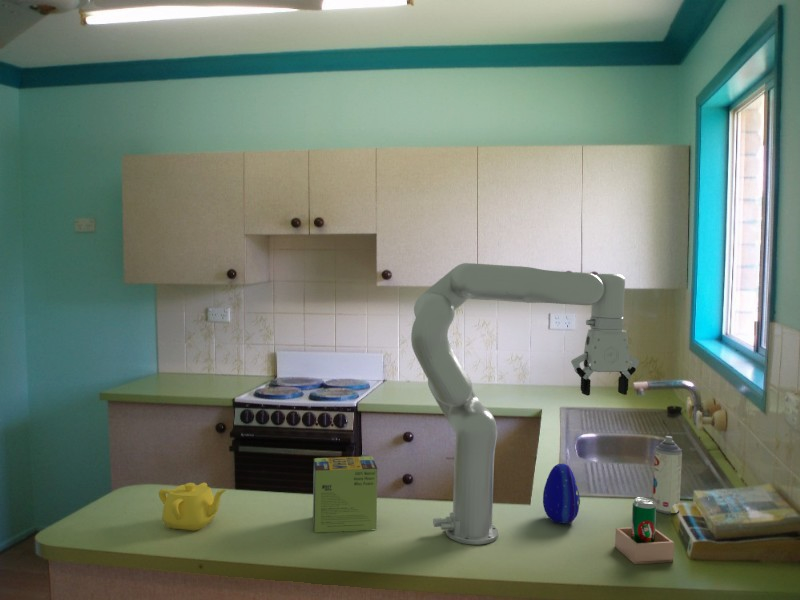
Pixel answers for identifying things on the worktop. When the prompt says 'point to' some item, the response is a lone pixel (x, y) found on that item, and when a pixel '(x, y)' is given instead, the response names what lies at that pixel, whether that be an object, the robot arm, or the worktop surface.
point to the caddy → (644, 547)
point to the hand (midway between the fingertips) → (604, 394)
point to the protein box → (344, 494)
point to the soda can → (643, 520)
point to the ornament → (561, 495)
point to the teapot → (189, 506)
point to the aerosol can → (667, 475)
